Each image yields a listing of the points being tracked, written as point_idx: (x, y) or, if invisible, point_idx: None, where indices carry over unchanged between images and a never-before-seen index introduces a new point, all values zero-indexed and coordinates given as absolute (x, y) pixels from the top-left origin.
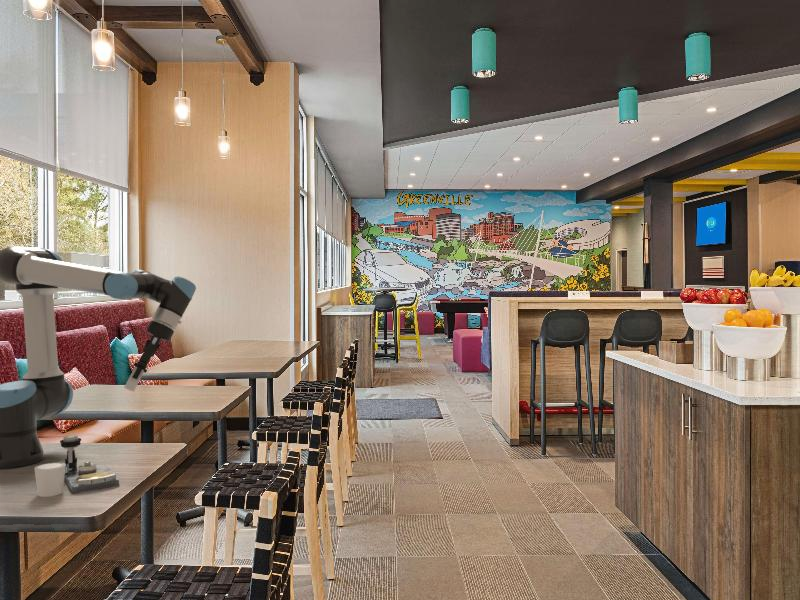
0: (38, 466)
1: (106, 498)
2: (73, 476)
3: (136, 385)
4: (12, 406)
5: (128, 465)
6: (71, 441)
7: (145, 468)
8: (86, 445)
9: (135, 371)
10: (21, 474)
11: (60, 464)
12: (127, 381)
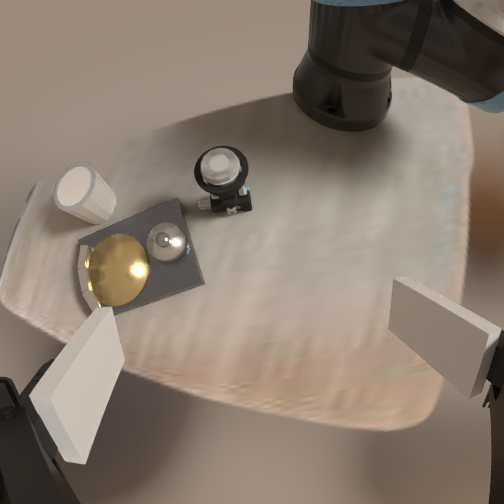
0: (81, 165)
1: (44, 304)
2: (144, 223)
3: (410, 344)
4: (314, 2)
5: (250, 325)
6: (203, 174)
7: (208, 368)
8: (456, 194)
9: (25, 388)
10: (243, 121)
11: (77, 200)
12: (83, 326)
